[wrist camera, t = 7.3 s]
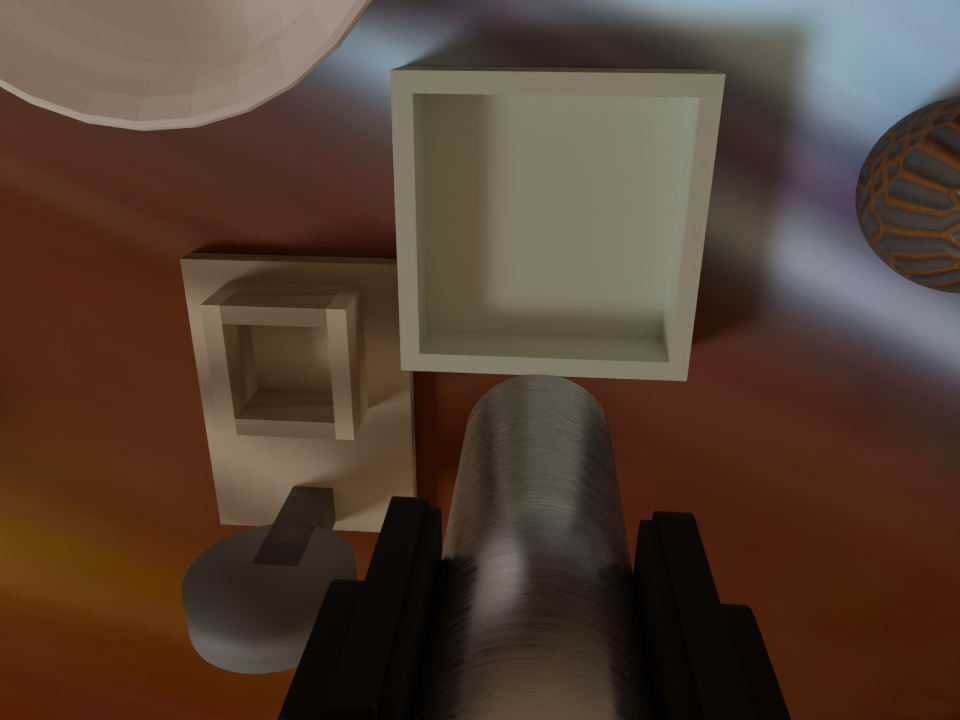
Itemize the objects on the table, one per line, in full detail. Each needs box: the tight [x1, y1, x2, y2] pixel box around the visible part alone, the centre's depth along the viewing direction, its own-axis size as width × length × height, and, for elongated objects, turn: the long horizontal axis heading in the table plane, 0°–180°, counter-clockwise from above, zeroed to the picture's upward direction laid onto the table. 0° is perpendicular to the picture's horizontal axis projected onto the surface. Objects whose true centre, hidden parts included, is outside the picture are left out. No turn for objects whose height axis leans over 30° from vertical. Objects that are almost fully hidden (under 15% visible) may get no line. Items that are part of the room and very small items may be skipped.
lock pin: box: [411, 374, 656, 720], centre depth 10 cm, size 5×5×13 cm
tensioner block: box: [180, 253, 417, 674], centre depth 32 cm, size 14×10×11 cm
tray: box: [390, 66, 726, 381], centre depth 32 cm, size 12×12×3 cm
